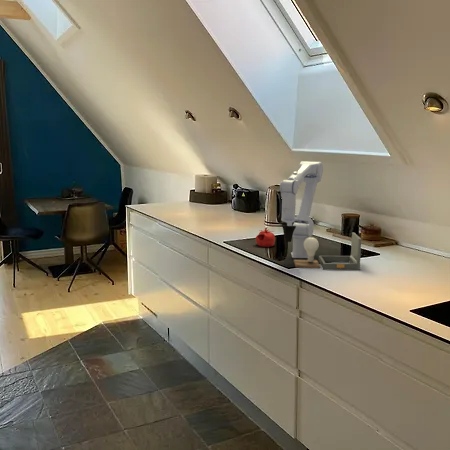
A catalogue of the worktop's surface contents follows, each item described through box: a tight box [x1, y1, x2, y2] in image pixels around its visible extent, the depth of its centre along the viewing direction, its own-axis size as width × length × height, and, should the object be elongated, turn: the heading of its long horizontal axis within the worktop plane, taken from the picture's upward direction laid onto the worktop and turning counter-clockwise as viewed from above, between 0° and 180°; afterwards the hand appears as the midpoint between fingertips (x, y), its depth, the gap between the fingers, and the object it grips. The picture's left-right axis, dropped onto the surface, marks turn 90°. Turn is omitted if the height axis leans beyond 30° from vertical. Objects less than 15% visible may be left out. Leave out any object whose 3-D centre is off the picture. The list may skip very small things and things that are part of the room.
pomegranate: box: [255, 227, 276, 248], centre depth 268 cm, size 10×10×9 cm
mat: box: [293, 259, 321, 269], centre depth 232 cm, size 10×10×1 cm
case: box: [318, 232, 362, 271], centre depth 229 cm, size 14×15×13 cm
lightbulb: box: [304, 236, 319, 263], centre depth 231 cm, size 6×6×11 cm
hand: (287, 239), depth 232 cm, fingers open, 7 cm apart
